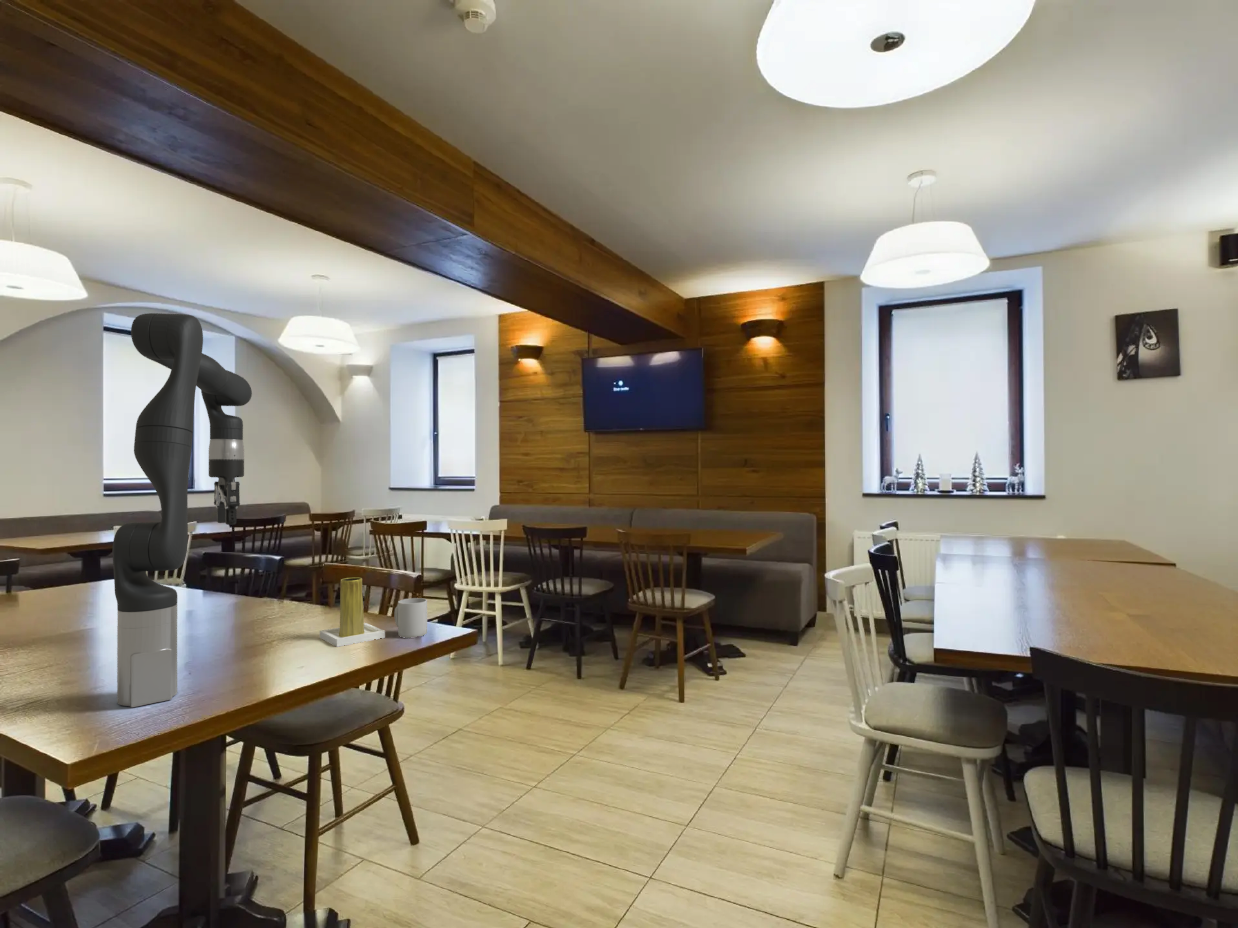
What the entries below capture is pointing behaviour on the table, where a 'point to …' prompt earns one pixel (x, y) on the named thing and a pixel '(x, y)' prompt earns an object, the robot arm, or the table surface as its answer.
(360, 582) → the vase
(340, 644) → the dish
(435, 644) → the table surface
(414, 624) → the cup
